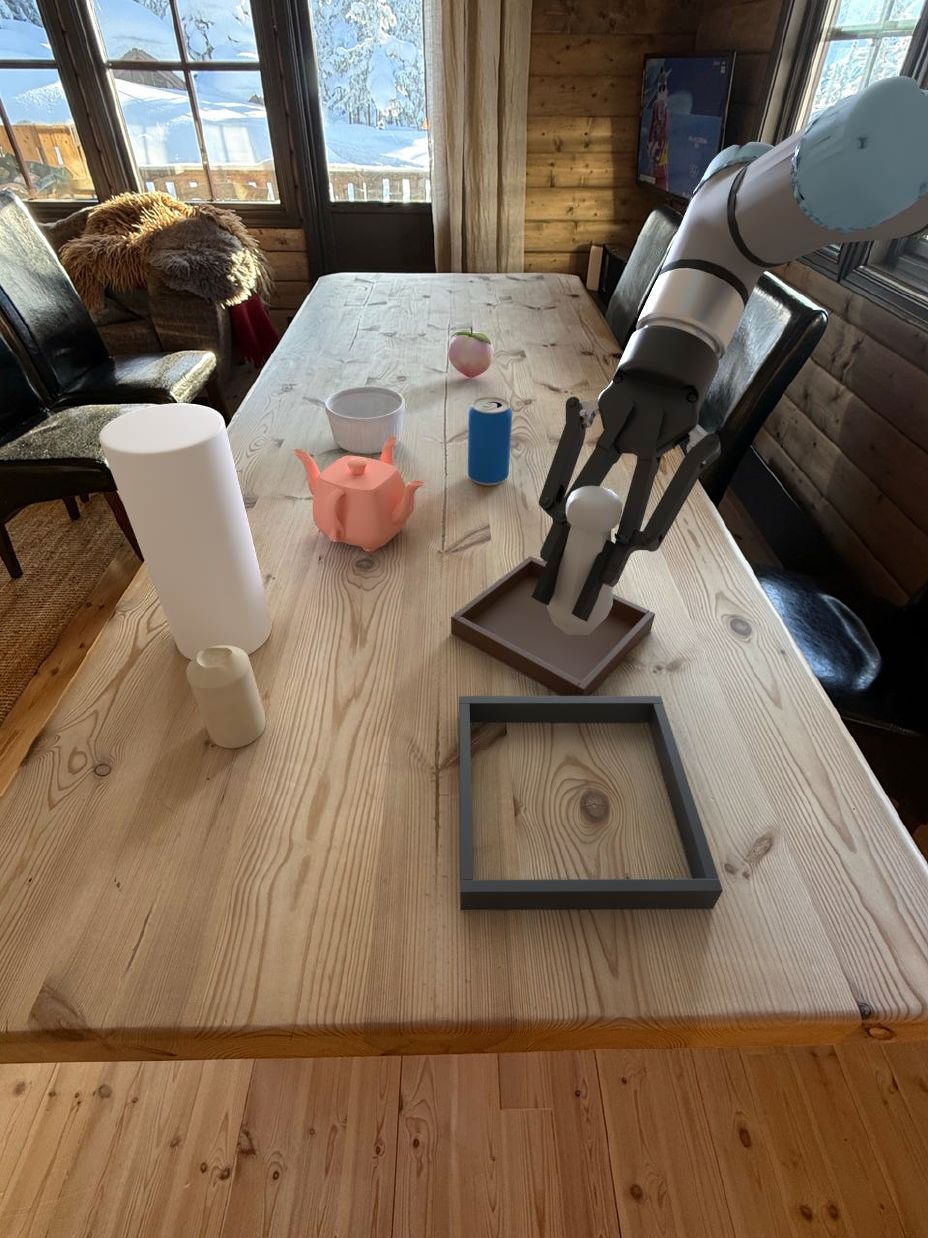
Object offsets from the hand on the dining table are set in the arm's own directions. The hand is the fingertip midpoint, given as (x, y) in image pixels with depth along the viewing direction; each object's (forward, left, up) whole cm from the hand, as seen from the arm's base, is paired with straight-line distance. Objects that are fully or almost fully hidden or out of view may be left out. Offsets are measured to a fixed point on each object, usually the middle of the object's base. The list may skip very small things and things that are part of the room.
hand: (559, 608), depth 54 cm
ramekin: (+60, -34, -17) cm, 71 cm away
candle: (+24, +19, -17) cm, 34 cm away
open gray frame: (-6, +5, -16) cm, 18 cm away
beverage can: (+36, -37, -17) cm, 54 cm away
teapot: (+40, -15, -17) cm, 46 cm away
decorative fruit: (+64, -69, -17) cm, 96 cm away
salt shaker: (0, -4, -4) cm, 6 cm away
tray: (+8, -13, -16) cm, 23 cm away
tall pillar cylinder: (+37, +11, -17) cm, 42 cm away
